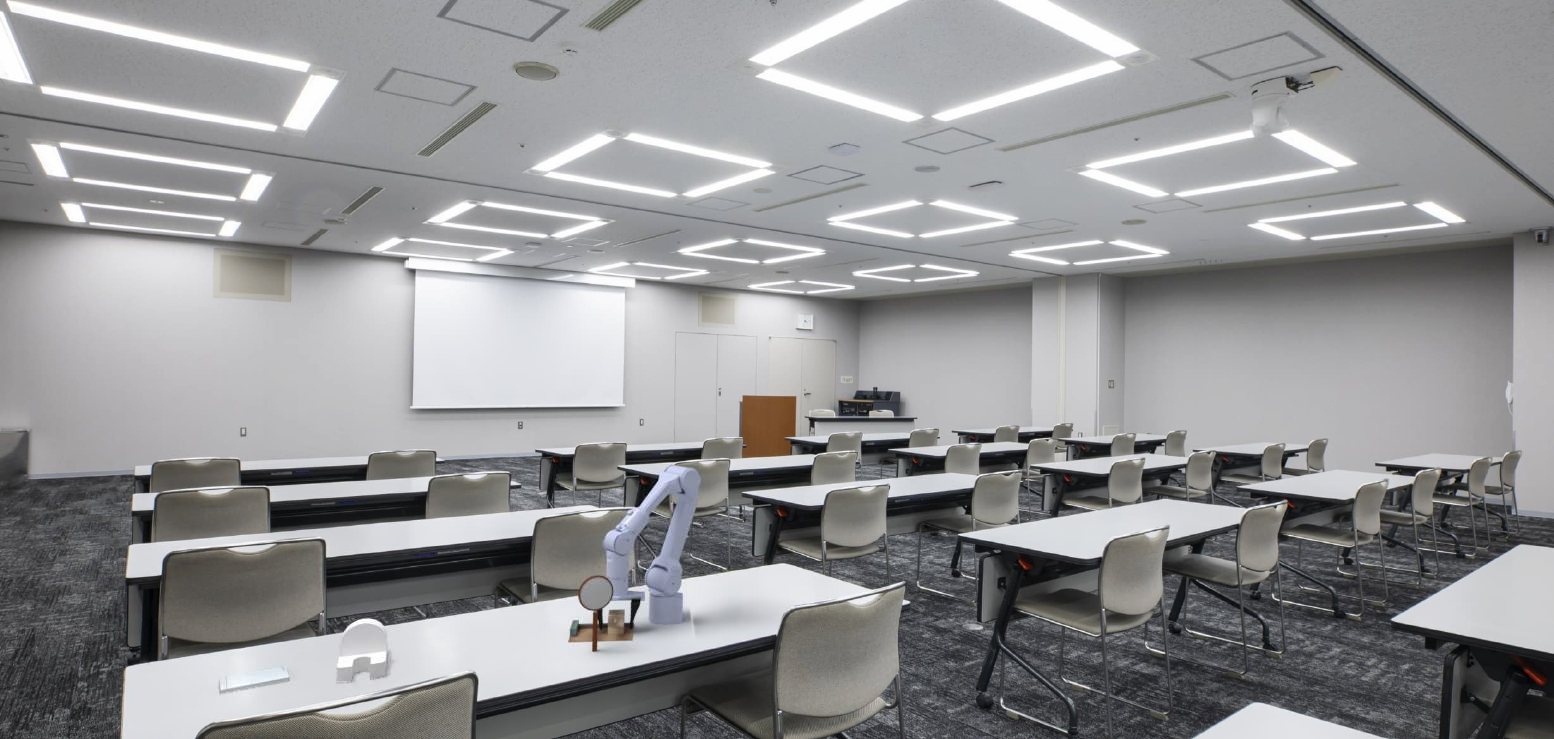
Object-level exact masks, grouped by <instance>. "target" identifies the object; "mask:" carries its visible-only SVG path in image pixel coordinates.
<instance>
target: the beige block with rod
mask: <svg viewBox="0 0 1554 739" xmlns="http://www.w3.org/2000/svg"><path fill="white" fill-rule="evenodd" d="M625 612H626V611H625V608H624V609H609V610H608V615H607V623H608V635H623V634H624V623H625V616H626V615H625Z"/></svg>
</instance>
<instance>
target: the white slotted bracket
mask: <svg viewBox="0 0 1554 739" xmlns="http://www.w3.org/2000/svg"><path fill="white" fill-rule="evenodd" d="M340 638H341V639H340V643H339V653H338V654H339V656H338V661H337V665H336V682H337V681H339V682H341V681H352V682H353V678H352V677H353V676H354V675H356V674H358V673H364V672H368V673H369V679H370V680H372V679H371V678H377V679H381V678H380V677H382V676H384V677H385V676H386V672H387V659H388V648H389V647H388V646H389V644H388V643H389V642H388V639H389V637H388V630H386V627H385V626H384V625H383V623H382V622H380V621H379V620H377V619H373V618H360V619H358V620H355V621H354V622H352V623H350V624H349V625H348V626H347V627H346V629H344V631H343V633H342V635H341V637H340ZM382 678H383V677H382Z"/></svg>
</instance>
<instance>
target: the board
mask: <svg viewBox="0 0 1554 739" xmlns="http://www.w3.org/2000/svg"><path fill="white" fill-rule="evenodd" d="M634 629H635V622H634V621H633V626H632V629H630V622H624V634H623V635H608V622H603V629H602V630H600V628H599V622H598V633H597V643H598V642H630V641H633V639H634ZM592 634H593V622H592V623H580V621H579V619H575V620H574V619H573V620H572V621H571V624H570V628H569V637H568V641H567V643H592Z"/></svg>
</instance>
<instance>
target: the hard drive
mask: <svg viewBox="0 0 1554 739" xmlns="http://www.w3.org/2000/svg"><path fill="white" fill-rule="evenodd" d="M219 682H220V683H219V694H220V693H225V692H230V693H234V692H233V691H236V692H238V691H237V690H241V691H245V690H244V689H246V690H249V689H248V688H252V689H256V688H255V687H257V688H262V687H266V685H268V686H272V685H277V684H282V683H288V682H290V675H289V671H288V667H287V665H283V666H276V667H270V668H266V669H265V668H264V669H259V670H255V671H254V670H253V671H248V672H243V673H238V674H237V673H235V674H232V675H226V676H222V677H219ZM225 694H226V693H225Z"/></svg>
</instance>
